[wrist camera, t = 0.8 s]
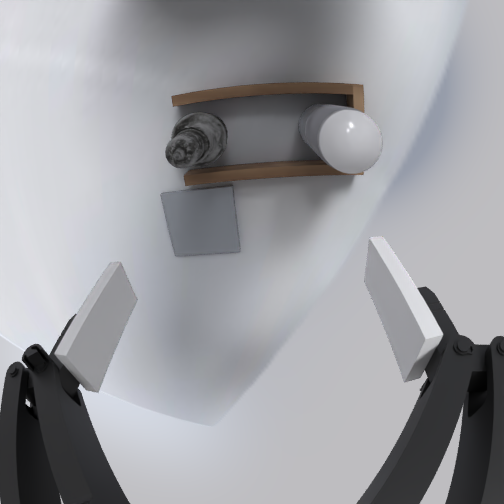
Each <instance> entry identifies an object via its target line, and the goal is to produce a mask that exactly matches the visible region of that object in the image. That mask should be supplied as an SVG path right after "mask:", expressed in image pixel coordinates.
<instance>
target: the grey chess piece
mask: <svg viewBox="0 0 504 504" xmlns="http://www.w3.org/2000/svg"><path fill="white" fill-rule="evenodd" d="M226 143H227V129H226V126H225V124H224V122H223V121H222V120H221V119H220V118H219V117H217V116H215V115H213V114H209V113H203V112H196V113H191V114H188V115H186V116H185V117H183V118H182V119H180V120H179V121H178V123H177V124H176V125H175V127H174V129H173V132H172V137H171V141H170V142H169V143H168V145H167V147H166V151H165V153H166V158H167V160H168V162H169V163H170V164H171V165H172V166H174V167H176V168H187V167H190V166H206V165H209V164H211V163H213V162H215V161H216V160H217V159H218V158H219V157H220V156H221V155H222V153H223V152H224V150H225V147H226Z"/></svg>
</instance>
